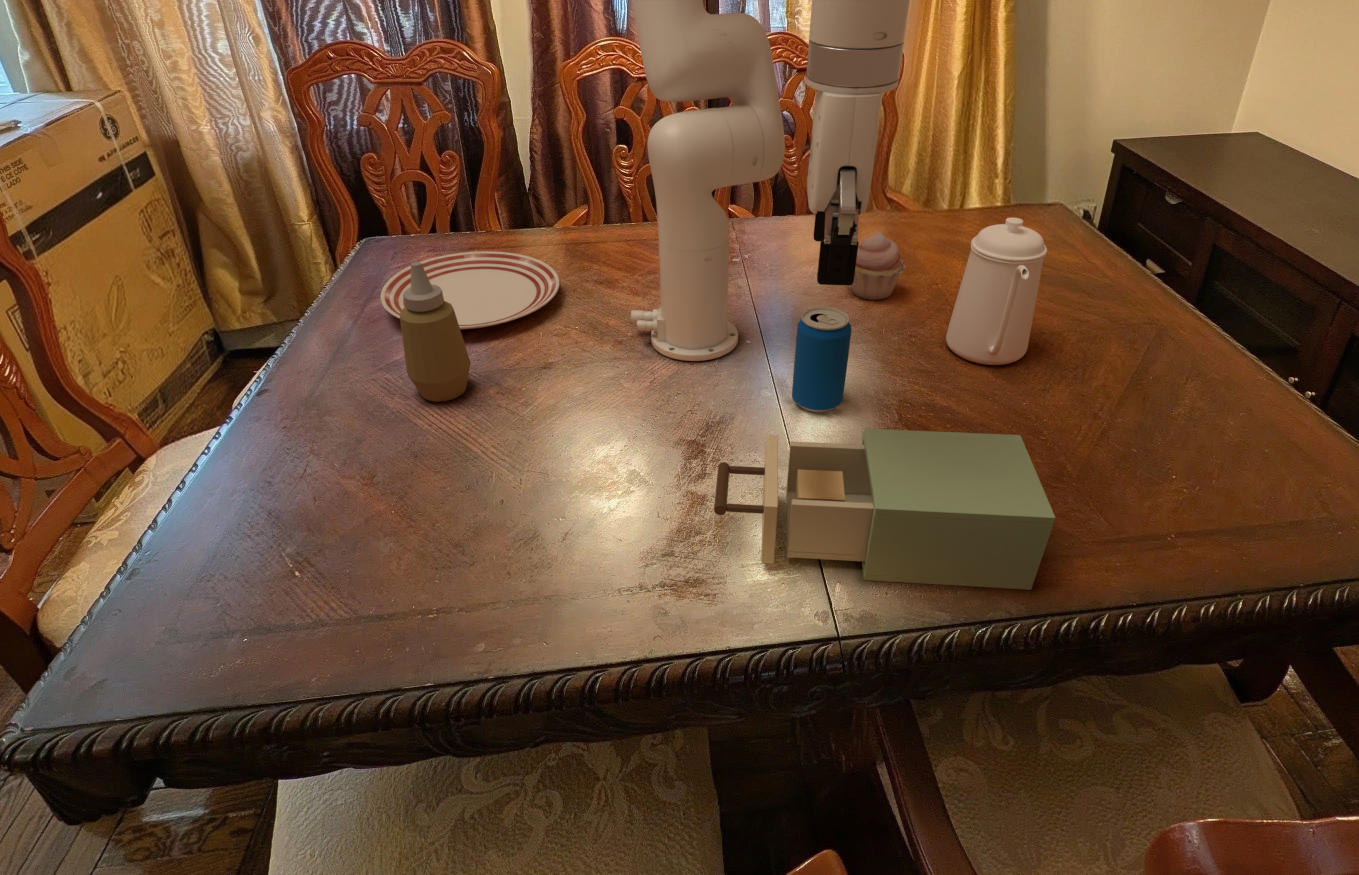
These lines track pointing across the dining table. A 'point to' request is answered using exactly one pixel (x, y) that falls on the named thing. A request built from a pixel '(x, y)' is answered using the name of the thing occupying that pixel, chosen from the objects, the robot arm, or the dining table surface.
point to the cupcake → (876, 267)
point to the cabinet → (954, 509)
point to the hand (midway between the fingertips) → (832, 261)
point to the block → (820, 485)
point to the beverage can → (821, 359)
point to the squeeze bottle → (432, 340)
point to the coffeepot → (997, 294)
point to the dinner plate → (481, 286)
